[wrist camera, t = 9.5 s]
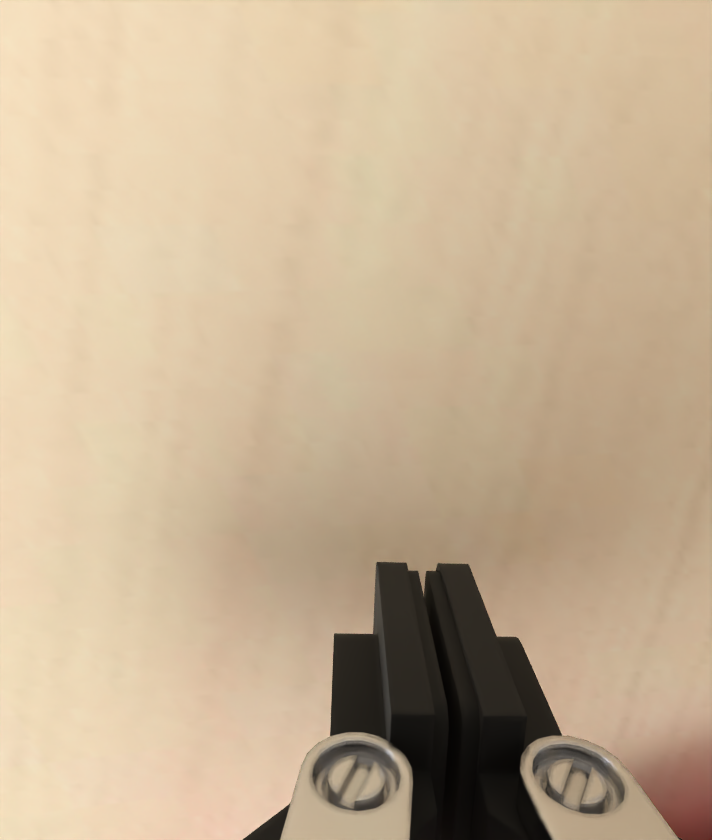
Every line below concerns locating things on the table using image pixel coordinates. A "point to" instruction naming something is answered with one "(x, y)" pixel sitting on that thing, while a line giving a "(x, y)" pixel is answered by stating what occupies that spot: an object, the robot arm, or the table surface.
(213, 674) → the table surface
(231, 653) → the table surface
